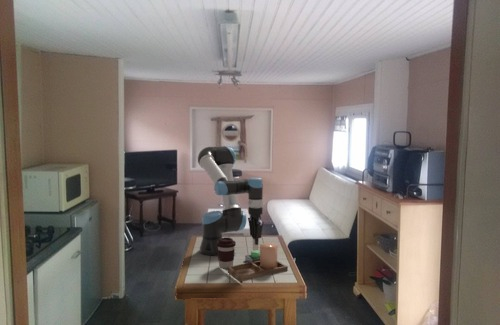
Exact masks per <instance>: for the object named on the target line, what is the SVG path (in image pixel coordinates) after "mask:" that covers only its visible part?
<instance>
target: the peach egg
mask: <svg viewBox="0 0 500 325" xmlns="http://www.w3.org/2000/svg"><path fill="white" fill-rule="evenodd" d="M278 246H279V245H278V244H276V243H272V242H264V243H261V244H259V252H260V268H262V269H263V270H269V269H274V268H277V261H278V254H279V253H278V250H279V249H278Z"/></svg>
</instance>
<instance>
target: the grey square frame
mask: <svg viewBox="0 0 500 325" xmlns="http://www.w3.org/2000/svg"><path fill="white" fill-rule="evenodd" d="M244 257H245V258H244V260H245V262H246V263H250V262H256V261H260V258H255V259H253V258H251V253H249V254H246V255H245V256H244Z"/></svg>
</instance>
